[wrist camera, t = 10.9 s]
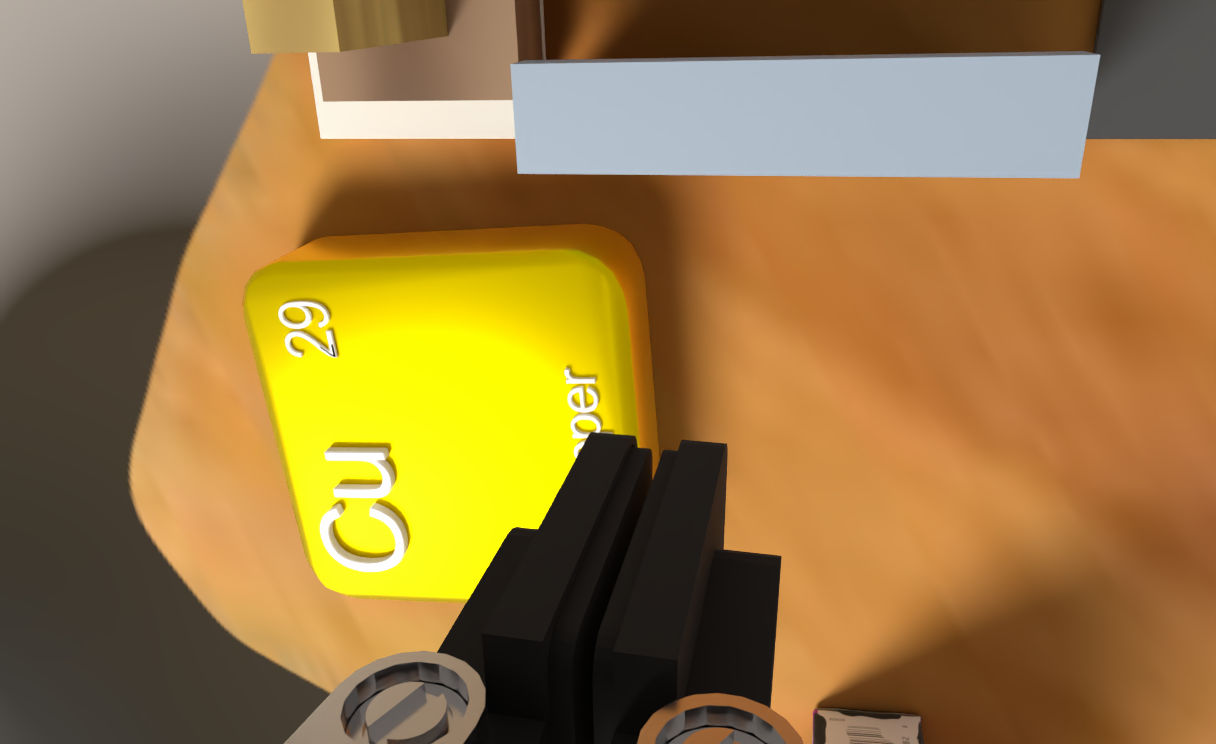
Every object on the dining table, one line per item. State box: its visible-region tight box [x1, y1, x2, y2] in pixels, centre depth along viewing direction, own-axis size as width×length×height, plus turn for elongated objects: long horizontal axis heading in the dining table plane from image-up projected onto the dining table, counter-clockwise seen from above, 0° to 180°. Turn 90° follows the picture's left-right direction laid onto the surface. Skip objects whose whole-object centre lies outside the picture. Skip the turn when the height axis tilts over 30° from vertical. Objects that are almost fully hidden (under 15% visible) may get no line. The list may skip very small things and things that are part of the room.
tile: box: [308, 0, 546, 139], centre depth 32 cm, size 9×9×1 cm
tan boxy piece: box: [242, 0, 543, 102], centre depth 27 cm, size 7×6×11 cm
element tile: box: [243, 224, 660, 603], centre depth 36 cm, size 15×15×5 cm
